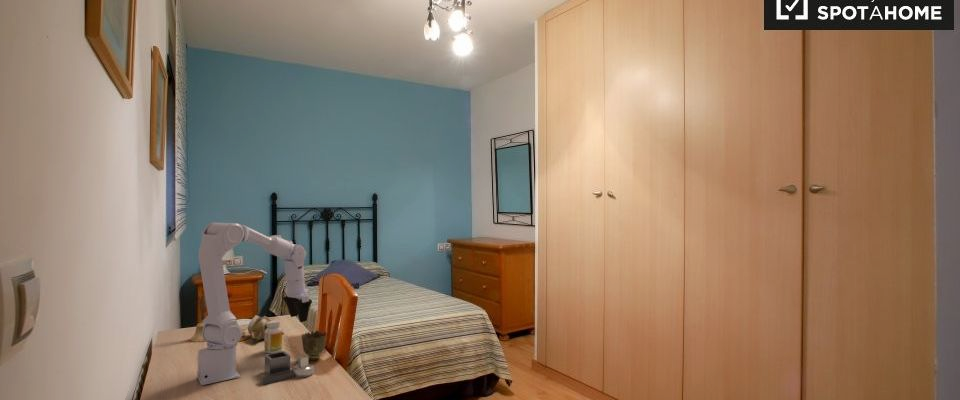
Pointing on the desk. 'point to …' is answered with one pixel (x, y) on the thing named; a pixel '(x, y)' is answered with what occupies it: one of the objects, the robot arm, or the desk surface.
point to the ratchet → (290, 372)
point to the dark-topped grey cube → (277, 362)
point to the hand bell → (199, 328)
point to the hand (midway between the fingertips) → (298, 318)
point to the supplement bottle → (273, 337)
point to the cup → (313, 344)
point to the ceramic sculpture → (258, 327)
